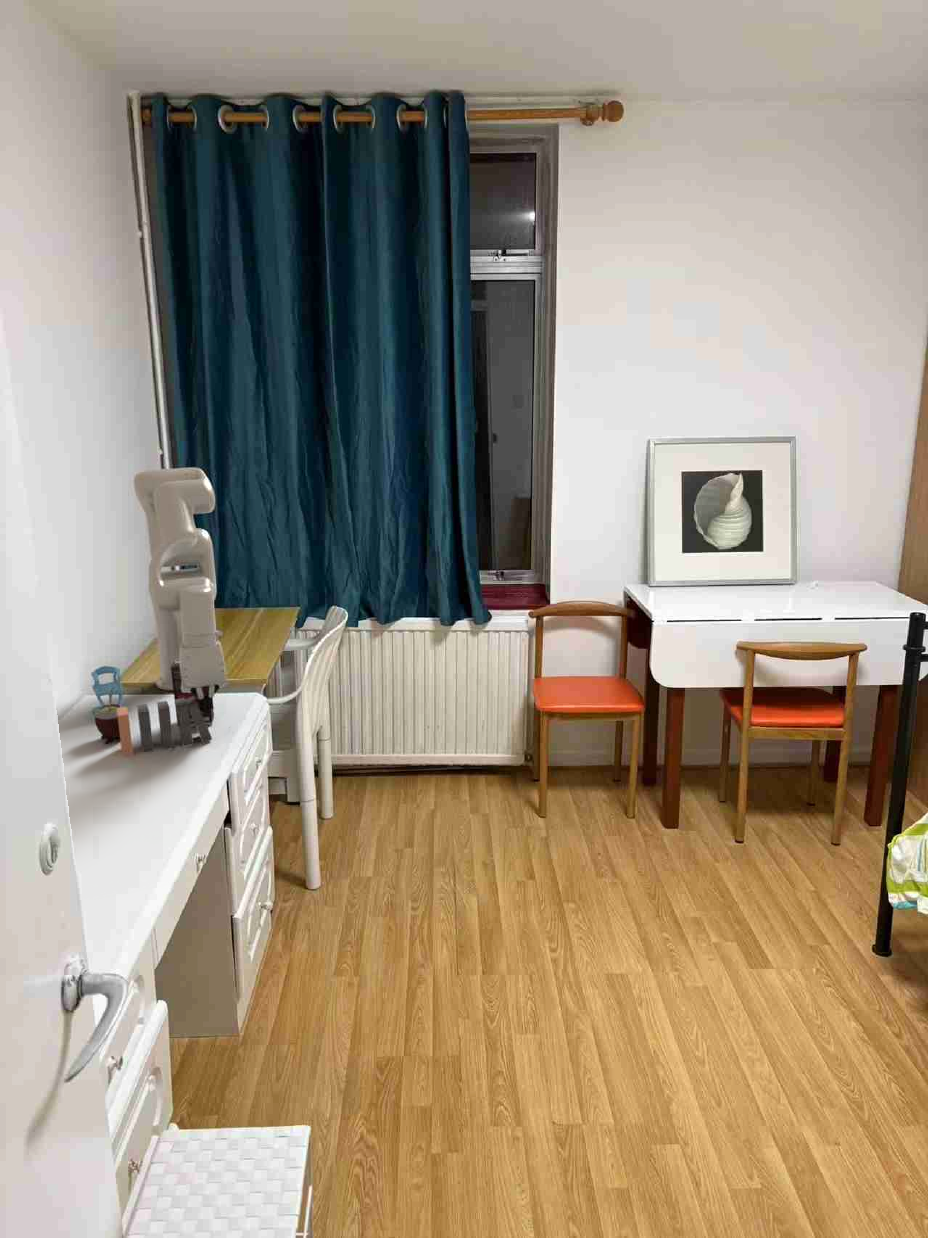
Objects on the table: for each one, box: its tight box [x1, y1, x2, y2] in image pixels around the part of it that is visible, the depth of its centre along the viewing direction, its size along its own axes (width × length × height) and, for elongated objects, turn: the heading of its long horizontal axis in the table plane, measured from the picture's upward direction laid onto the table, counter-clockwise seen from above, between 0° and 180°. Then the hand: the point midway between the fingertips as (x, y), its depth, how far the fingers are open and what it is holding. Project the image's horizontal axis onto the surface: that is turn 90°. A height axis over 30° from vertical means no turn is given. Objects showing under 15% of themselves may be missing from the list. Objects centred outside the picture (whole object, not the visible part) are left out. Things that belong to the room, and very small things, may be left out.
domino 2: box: [156, 700, 175, 750], centre depth 224 cm, size 5×2×10 cm, turn 23°
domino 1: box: [136, 703, 154, 754], centre depth 222 cm, size 5×2×10 cm, turn 23°
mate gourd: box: [94, 687, 121, 745], centre depth 226 cm, size 8×8×15 cm
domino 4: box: [185, 696, 213, 744], centre depth 227 cm, size 5×2×10 cm, turn 23°
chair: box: [90, 665, 125, 714], centre depth 243 cm, size 8×8×12 cm
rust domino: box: [117, 706, 134, 757], centre depth 221 cm, size 5×2×10 cm, turn 23°
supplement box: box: [171, 661, 215, 728], centre depth 236 cm, size 9×5×16 cm, turn 98°
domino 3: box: [174, 698, 194, 747], centre depth 226 cm, size 5×2×10 cm, turn 23°
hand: (207, 712), depth 227 cm, fingers closed
